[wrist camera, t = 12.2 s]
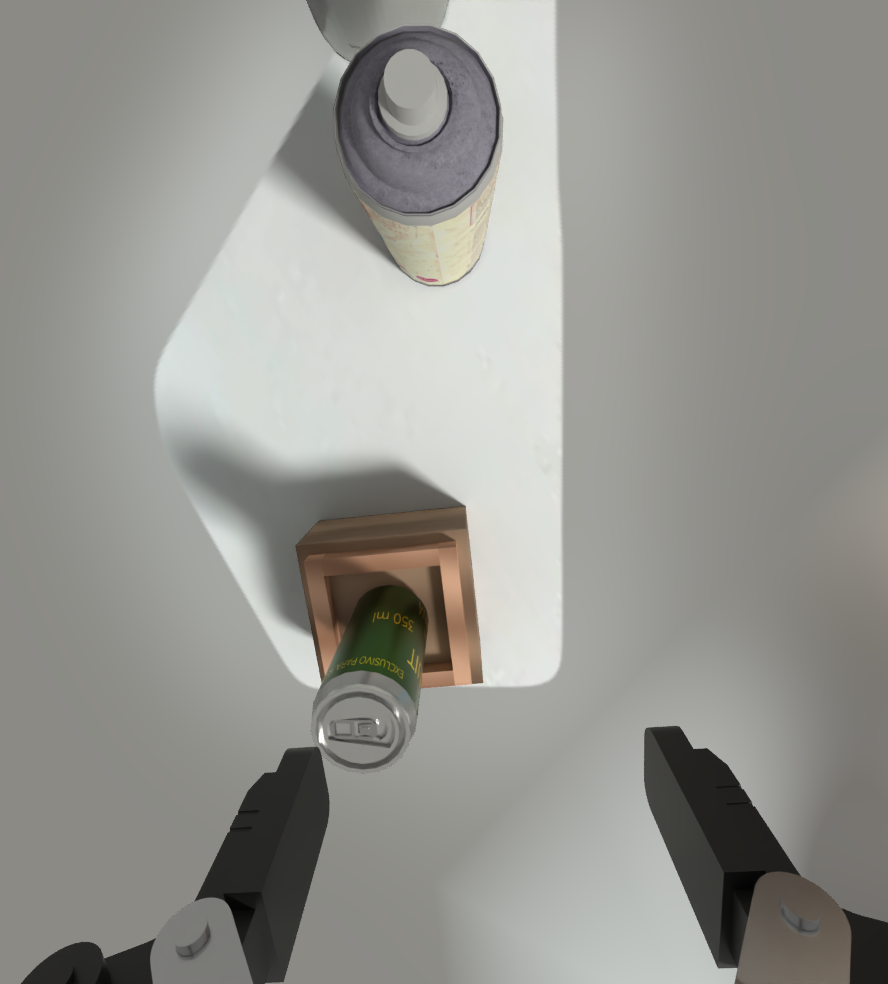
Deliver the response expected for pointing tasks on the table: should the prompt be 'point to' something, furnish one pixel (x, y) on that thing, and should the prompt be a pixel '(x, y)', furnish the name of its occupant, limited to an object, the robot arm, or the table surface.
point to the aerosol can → (422, 147)
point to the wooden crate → (397, 583)
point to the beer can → (373, 683)
